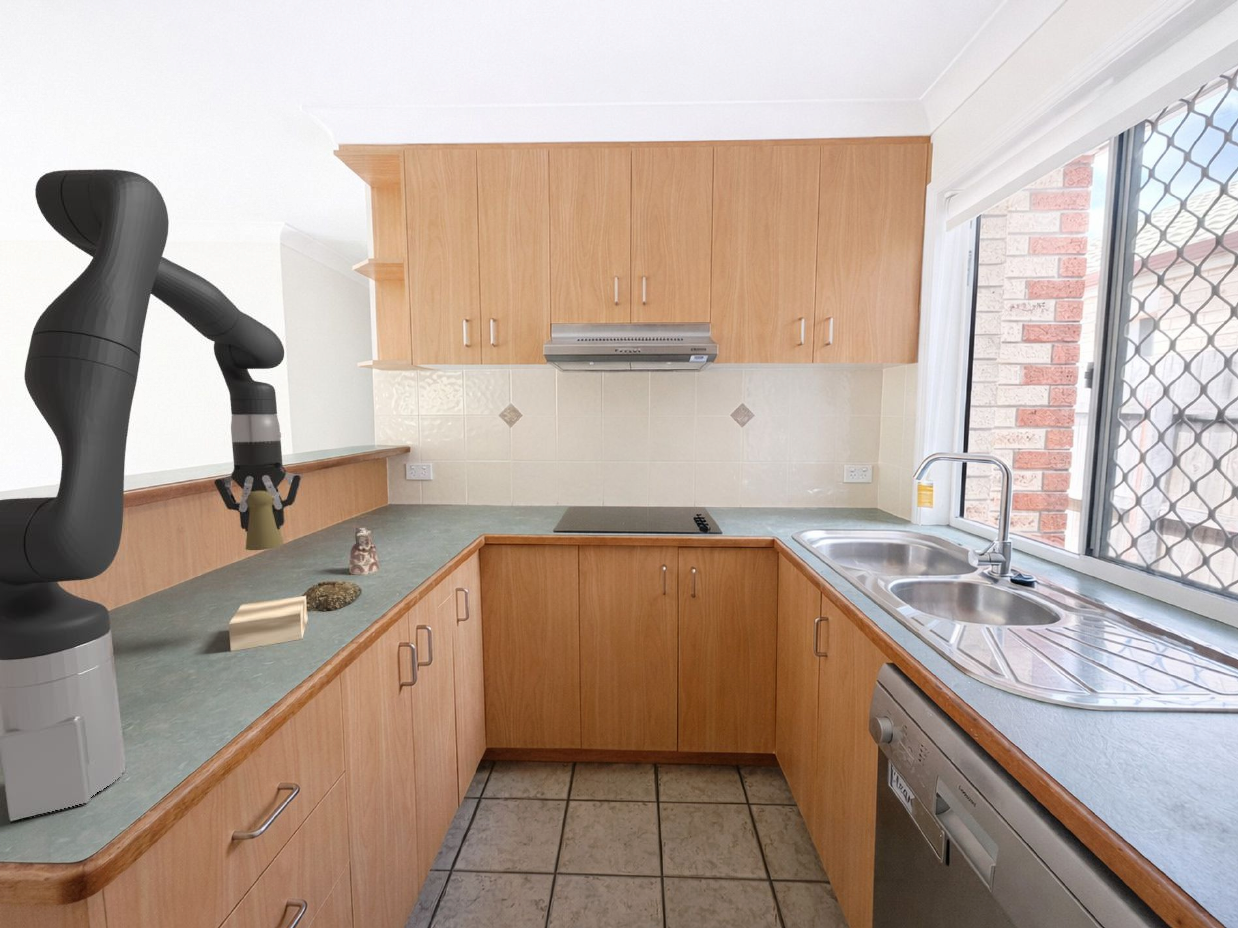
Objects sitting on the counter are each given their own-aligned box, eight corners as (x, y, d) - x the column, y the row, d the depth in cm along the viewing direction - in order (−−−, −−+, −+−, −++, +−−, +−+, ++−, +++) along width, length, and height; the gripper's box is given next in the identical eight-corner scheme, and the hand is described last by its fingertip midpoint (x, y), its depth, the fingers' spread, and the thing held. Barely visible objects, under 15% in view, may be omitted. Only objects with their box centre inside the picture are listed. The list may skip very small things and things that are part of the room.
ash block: (302, 639, 99) (300, 613, 99) (230, 651, 95) (228, 624, 94) (307, 618, 109) (306, 595, 109) (243, 628, 105) (241, 604, 104)
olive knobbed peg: (264, 550, 97) (260, 491, 96) (237, 549, 98) (232, 490, 97) (291, 542, 103) (287, 486, 102) (265, 541, 104) (260, 486, 103)
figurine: (353, 576, 138) (350, 531, 137) (346, 570, 143) (343, 527, 142) (382, 571, 143) (379, 527, 142) (374, 565, 148) (371, 523, 147)
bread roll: (369, 593, 126) (368, 572, 125) (341, 612, 114) (339, 590, 113) (316, 593, 126) (314, 573, 126) (282, 613, 114) (280, 590, 113)
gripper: (203, 441, 92) (212, 538, 94) (298, 438, 98) (305, 529, 100) (214, 439, 99) (222, 529, 100) (303, 437, 105) (309, 522, 106)
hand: (263, 529), depth 100 cm, fingers closed on olive knobbed peg, 4 cm apart
